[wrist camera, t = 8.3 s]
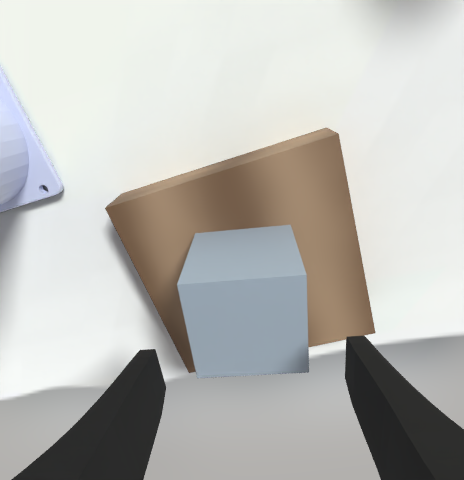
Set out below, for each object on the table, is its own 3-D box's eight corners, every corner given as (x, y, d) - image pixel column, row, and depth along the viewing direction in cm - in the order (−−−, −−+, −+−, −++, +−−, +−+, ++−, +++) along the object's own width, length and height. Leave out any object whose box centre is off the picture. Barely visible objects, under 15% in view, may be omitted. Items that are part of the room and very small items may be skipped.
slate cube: (208, 310, 19) (197, 378, 15) (195, 233, 17) (177, 284, 13) (294, 304, 19) (308, 372, 14) (290, 224, 17) (306, 274, 12)
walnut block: (195, 340, 24) (189, 372, 22) (124, 191, 20) (105, 208, 17) (359, 303, 22) (375, 332, 20) (324, 126, 18) (338, 133, 15)
